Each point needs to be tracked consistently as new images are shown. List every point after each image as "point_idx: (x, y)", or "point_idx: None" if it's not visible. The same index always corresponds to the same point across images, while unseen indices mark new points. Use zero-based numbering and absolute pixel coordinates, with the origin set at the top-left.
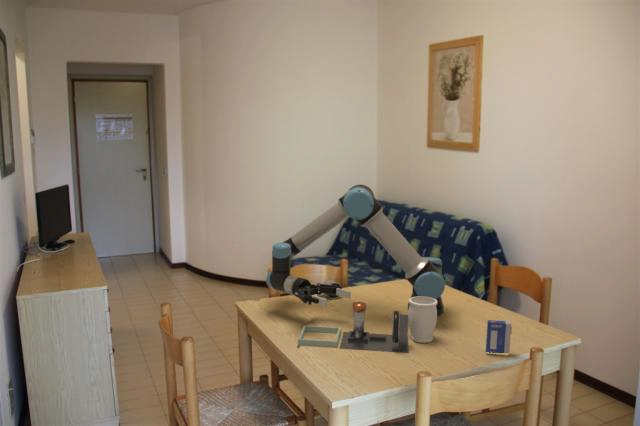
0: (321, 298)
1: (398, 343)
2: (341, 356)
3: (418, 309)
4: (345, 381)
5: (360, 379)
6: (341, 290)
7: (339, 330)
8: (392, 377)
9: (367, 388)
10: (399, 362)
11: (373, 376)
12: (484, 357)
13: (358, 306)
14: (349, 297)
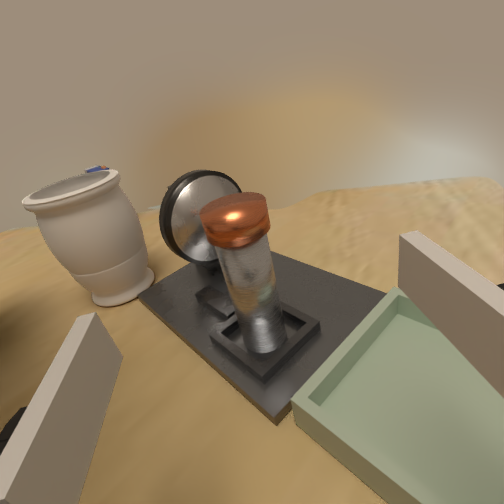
0: (449, 255)
1: (204, 270)
2: (396, 276)
3: (120, 189)
4: (438, 204)
5: (399, 205)
6: (59, 401)
7: (320, 369)
8: (332, 203)
9: (401, 189)
10: (276, 230)
11: (366, 208)
12: (147, 219)
13: (258, 195)
14: (112, 351)
